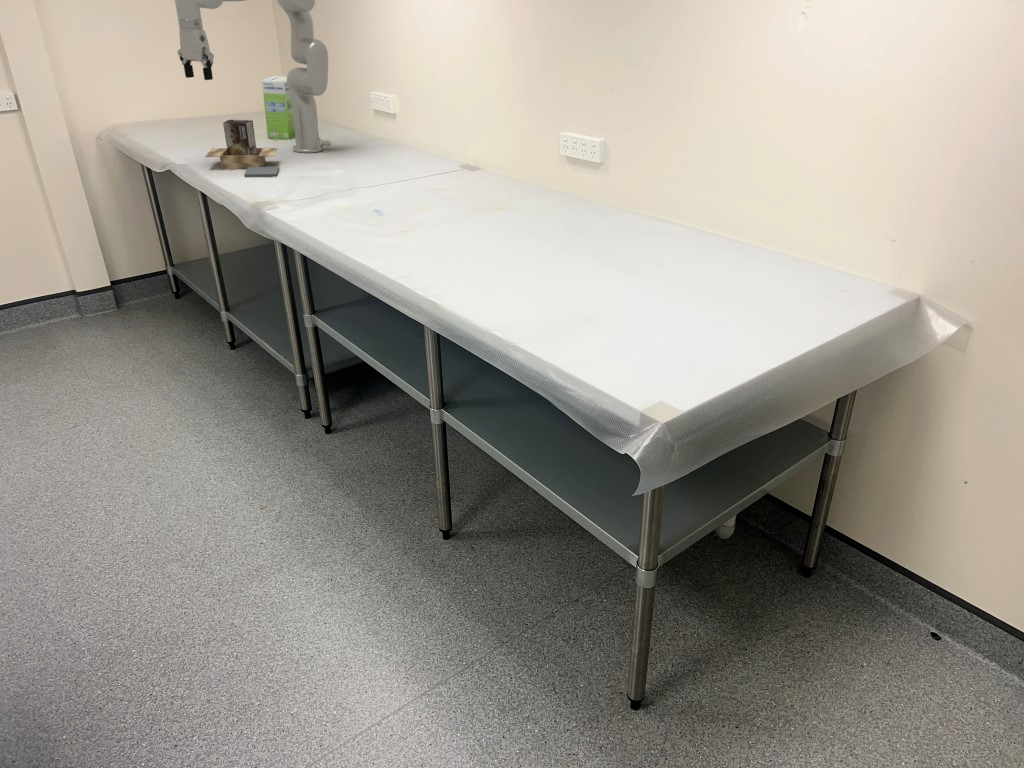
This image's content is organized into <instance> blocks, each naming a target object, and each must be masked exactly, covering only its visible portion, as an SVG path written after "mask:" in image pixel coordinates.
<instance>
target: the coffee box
mask: <svg viewBox="0 0 1024 768" xmlns="http://www.w3.org/2000/svg"><path fill="white" fill-rule="evenodd" d="M222 125H223V131H224V132H223V133H224V136H225V143H226V148H227V151H228V156H246V155H257V149H256V148H257V141H256V136H255V128H254V121H253V120H250V119H228V120H225V121H223V122H222Z"/></svg>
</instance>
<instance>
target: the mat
mask: <svg viewBox="0 0 1024 768" xmlns="http://www.w3.org/2000/svg"><path fill="white" fill-rule="evenodd" d="M279 169H280V166H263V167H248V169H247V170H245V172H244V173H243V176H244V178H274V177H273V176H278V174H279V172H278V171H280V170H279Z"/></svg>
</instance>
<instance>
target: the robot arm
mask: <svg viewBox="0 0 1024 768" xmlns="http://www.w3.org/2000/svg"><path fill="white" fill-rule="evenodd" d="M242 1H243V2H244V1H246V0H174V2H175V4H174V5H175V10H176V16H177V21H178V27H179V30H178V32H179V33H178V34H179V45H180V46H179V47H180V48H179V49H178V50H177V52H176V53H177V55H178V57H179V60H180V61H181V64H182V66H183V70H184V76H185V78H187V79H189V78H194V77H195V75H194V67H193V64H192V62H200V63H201V65H202V72H203V79H204V80H205V81H211V80H213V79H214V77H213V71H212V68H213V63H214V58H215V55H214V53H212V52H211V50H210V44H209V40H208V38H207V34H206V31H205V29H204V27H203V21H202V16H201V14H202V13H201V9H209V10H215V9H217V8H219V7H221V6H222V5H223V2H242ZM276 2H277V3H278V5H279V7H280V8H281V9H282V10H283V11H284V12H285V14H286V15H287V17H288V19H289V23H290V55H291V58H292V60H293V61H294V62H295V63H297V64H300V65H301V64H302V65H306V67H300V66H299V67H293V68H292V69H291V70H289V71H288V73H287V75H286V76H287V85H288V89H289V92H290V96H291V102H292V111H293V120H294V129H295V136H294V137H295V145H294V146H292V151H293V152H296V153H306V154H308V153H309V154H310V153H320V152H323V151H324V150H325V147H326V146H327V147H329V146H332V145H331V140H322V139H321V136H320V133H319V122H318V121H319V119H318V111H317V103H316V99H315V97H314V96H317V97H319V96H322V95H324V93H325V92H326V91H327V88H328V81H329V79H328V77H329V53H328V49H327V46H326V45H325V44H324V42H322V41H321V40H319V39H316V38H315V37H314V22H313V19H312V16H311V14H310V11H312V10H313V9H314V7H315V5H316V0H276ZM324 146H325V147H324ZM322 150H323V151H322Z"/></svg>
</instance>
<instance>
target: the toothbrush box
mask: <svg viewBox="0 0 1024 768" xmlns="http://www.w3.org/2000/svg"><path fill="white" fill-rule="evenodd" d="M261 84H262V94H263V104H264V112H265V113H264V114H265V123H266V133H267V139H272V138H277V139H276V140H287V139H290V138H291V139H292V137H293V136H294V137H295V129H294V120H293V111H292V102H291V96H290V92H289V89H288V85H287V75H273V76H270V77H267V78H264V79H263V80H261ZM294 137H293V138H294ZM291 139H290V140H291Z"/></svg>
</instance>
